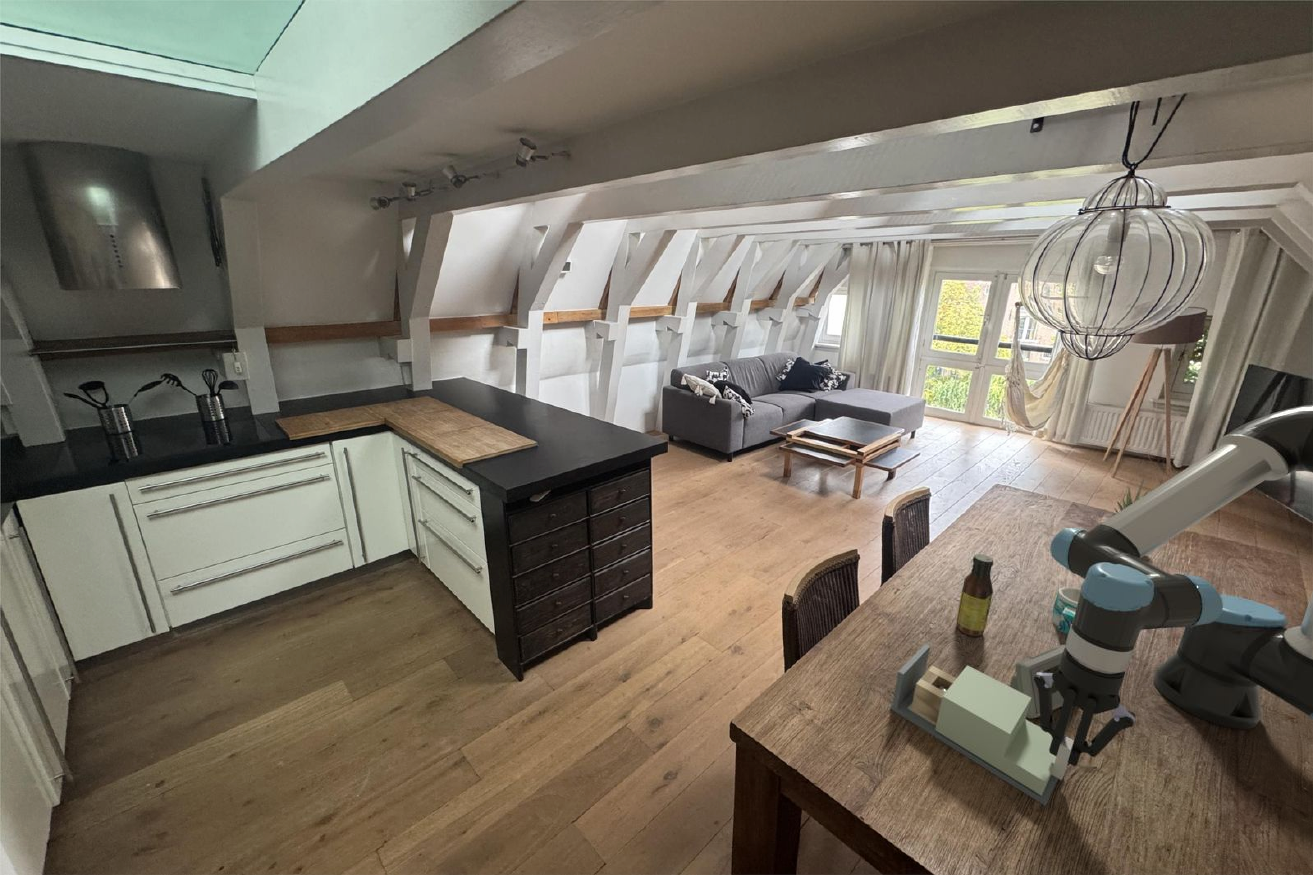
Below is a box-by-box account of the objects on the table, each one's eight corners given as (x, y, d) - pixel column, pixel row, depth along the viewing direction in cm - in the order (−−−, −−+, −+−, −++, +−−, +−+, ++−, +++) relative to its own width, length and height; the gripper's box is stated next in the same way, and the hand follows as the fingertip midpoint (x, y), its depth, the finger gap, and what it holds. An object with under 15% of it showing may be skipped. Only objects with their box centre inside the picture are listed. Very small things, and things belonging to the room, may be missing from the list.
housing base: (1064, 762, 91) (1078, 721, 88) (1045, 806, 83) (1059, 762, 81) (917, 679, 110) (924, 643, 107) (890, 709, 102) (897, 670, 100)
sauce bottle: (988, 639, 123) (1005, 567, 117) (960, 635, 124) (975, 564, 118) (977, 622, 129) (993, 553, 123) (950, 619, 130) (965, 550, 124)
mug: (1094, 626, 128) (1103, 597, 126) (1083, 647, 121) (1092, 617, 118) (1055, 610, 134) (1062, 583, 132) (1041, 629, 127) (1049, 600, 124)
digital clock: (1026, 723, 99) (1038, 679, 96) (989, 689, 108) (999, 647, 105) (1094, 711, 102) (1108, 668, 99) (1052, 678, 111) (1064, 637, 108)
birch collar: (967, 711, 100) (973, 687, 99) (952, 732, 96) (958, 707, 94) (927, 689, 106) (932, 665, 104) (911, 707, 101) (916, 683, 99)
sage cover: (1060, 753, 91) (1072, 718, 89) (1041, 795, 84) (1053, 758, 81) (959, 697, 103) (967, 665, 101) (935, 730, 96) (942, 696, 94)
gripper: (1153, 669, 77) (1111, 786, 84) (1050, 627, 87) (1020, 735, 94) (1147, 694, 73) (1102, 815, 80) (1038, 647, 82) (1007, 759, 89)
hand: (1058, 772), depth 87 cm, fingers closed
